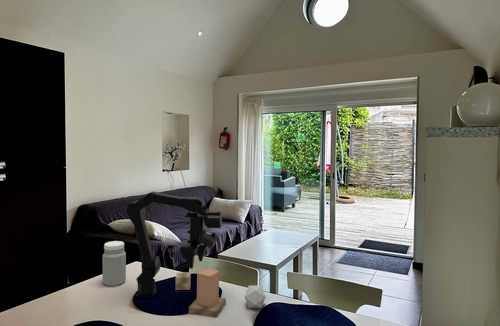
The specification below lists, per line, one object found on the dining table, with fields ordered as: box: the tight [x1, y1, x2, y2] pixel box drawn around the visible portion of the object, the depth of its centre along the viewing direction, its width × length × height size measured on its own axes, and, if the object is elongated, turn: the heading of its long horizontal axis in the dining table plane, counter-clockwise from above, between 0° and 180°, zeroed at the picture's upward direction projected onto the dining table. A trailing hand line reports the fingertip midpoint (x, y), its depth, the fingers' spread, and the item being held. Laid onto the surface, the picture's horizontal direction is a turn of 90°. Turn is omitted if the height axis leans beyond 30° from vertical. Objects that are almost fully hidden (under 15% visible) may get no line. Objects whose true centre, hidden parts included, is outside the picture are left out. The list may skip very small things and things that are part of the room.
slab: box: [188, 297, 227, 318], centre depth 135 cm, size 11×11×3 cm
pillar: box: [196, 268, 220, 308], centre depth 135 cm, size 6×6×12 cm
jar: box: [102, 240, 127, 287], centre depth 158 cm, size 10×10×18 cm
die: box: [244, 285, 266, 309], centre depth 138 cm, size 8×9×10 cm
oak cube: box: [175, 271, 191, 290], centre depth 154 cm, size 6×6×6 cm
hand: (196, 264), depth 146 cm, fingers open, 9 cm apart
